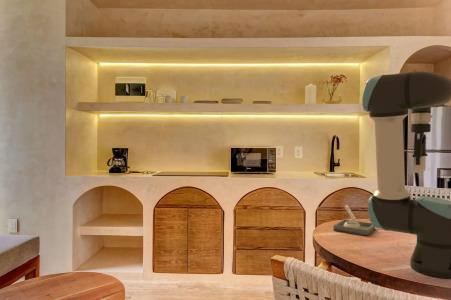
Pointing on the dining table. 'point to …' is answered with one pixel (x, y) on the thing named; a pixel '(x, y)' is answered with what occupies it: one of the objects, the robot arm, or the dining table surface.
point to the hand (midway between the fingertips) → (419, 171)
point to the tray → (363, 230)
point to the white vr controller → (352, 220)
